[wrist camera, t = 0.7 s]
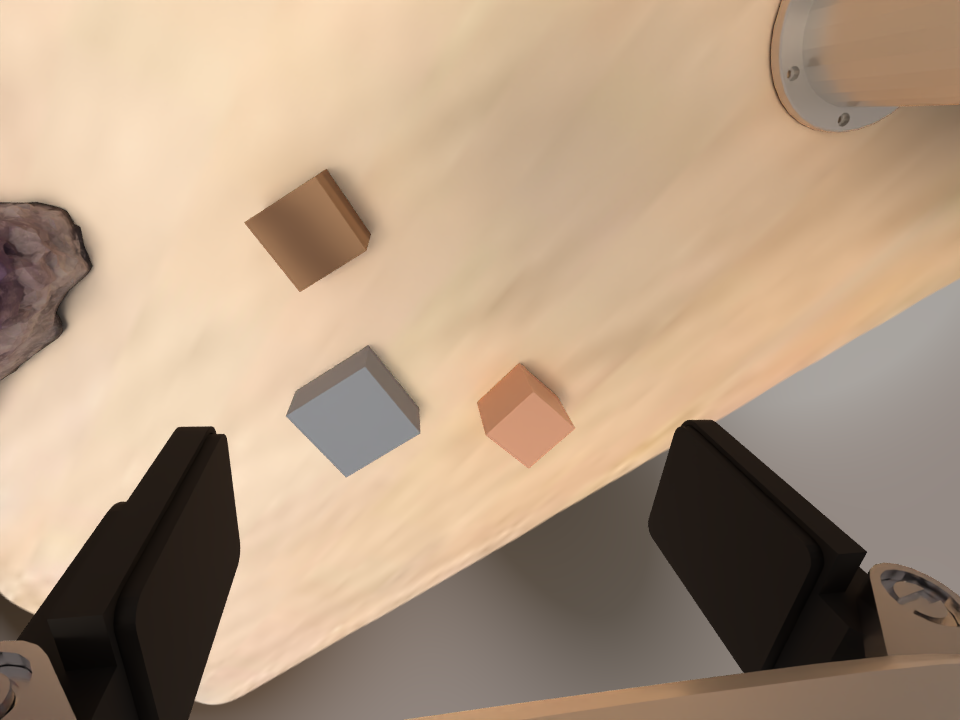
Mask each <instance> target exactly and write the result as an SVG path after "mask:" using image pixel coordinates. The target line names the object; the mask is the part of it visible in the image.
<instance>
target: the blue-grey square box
mask: <svg viewBox="0 0 960 720" xmlns="http://www.w3.org/2000/svg"><path fill="white" fill-rule="evenodd" d="M286 417H287V418H288V419H289V420H290V421H291V422H292V423H293V424H294V425H295V426H296V427H297V428H298V429H299V430H300V431H301V432H302V433H303V434H304V435H305V436H306V437H307V438H308V439H309V440H310V441H311V442H312V443H313V444H314V445H315V446H316V447H317V448H318V449H319V450H320V451H321V452H322V453H323V454H324V455H325V456H326V457H327V458H328V459H329V460H330V461H331V462H332V463H333V464H334V466H335V467H336V468H337V469H338V470H339V471H340V472H341V473H342V474H343V475H344V476H345V477H348V476H349V475H351V474H353V473H355V472H356V471H358V470H360V469H361V468H363V467H365V466H366V465H368V464H370V463H371V462H373V461H375V460H376V459H378V458H380V457H381V456H383V455H385V454H386V453H388V452H390V451H391V450H393V449H395V448H397V447H398V446H400V445H402V444H403V443H405V442H407V441H408V440H410V439H412V438H413V437H415V436H417V435H418V434H420V419H419V408H418V406H417V405H416V404H415V403H414V401H413V400H412V399H411V398H410V396H409V395H408V394H407V393H406V391H405V390H404V389H403V388H402V386H401V385H400V384H399V383H398V382H397V380H396V379H395V378H394V377H393V375H392V374H391V373H390V372H389V370H388V369H387V368H386V367H385V365H384V364H383V363H382V362H381V360H380V359H379V358H378V357H377V355H376V354H375V353H374V352H373V351H372V349H371V348H370V347H369V346H367V347H365V348H363V349H362V350H360V351H359V352H357V353H355V354H354V355H352V356H351V357H349V358H347V359H346V360H344V361H343V362H341V363H340V364H338V365H336V366H335V367H333V368H332V369H330V370H328V371H327V372H325V373H324V374H322V375H320V376H319V377H317V378H316V379H314V380H313V381H311V382H309V383H308V384H306V385H305V386H303V387H301V388H300V389H298V390H297V391H296V392H295V394H294V397H293V399H292V402H291V405H290V407H289V410H288V412H287V415H286Z"/></svg>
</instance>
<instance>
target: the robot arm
mask: <svg viewBox="0 0 960 720" xmlns="http://www.w3.org/2000/svg"><path fill="white" fill-rule="evenodd" d="M771 69H772V75H773V80H774V86H775V88H776V91H777V93H778V96H779V98H780V101H781V102H782V104H783V105H784V107H785V108H786V110H787V111H788V113H789V114H790V115H791V116H793V117H794V118H795V119H796V120H797V121H798V122H799V123H801V124H803V125H805V126H807V127H809V128H811V129H814V130H820V131H825V132H847V131H853V130H859V129H861V128H864V127H867V126H869V125H872V124H875V123H876V122H878V121H880V120H881V119H883V118H885V117H887V116H888V115H890V114H891V113H893V112H894V111H895V110H896V109H898V108H899V107H900V106H931V105H960V0H782V2H781V5H780V8H779V12H778V15H777V18H776V22H775V25H774V31H773V38H772V44H771ZM648 527H649V532H650V534H651V536H652V538H653V540H654V541H655V543H656V544H657V546H658V547H659V549H660V550H661V551H662V553H663V555H664V556H665V558H666V559H667V560H668V562H669V563H670V565H671V566H672V568H673V569H674V571H675V572H676V574H677V575H678V576H679V578H680V579H681V581H682V582H683V584H684V585H685V587H686V589H687V590H688V591H689V593H690V594H691V596H692V597H693V599H694V600H695V602H696V603H697V605H698V606H699V608H700V609H701V611H702V612H703V614H704V615H705V617H706V618H707V620H708V621H709V623H710V624H711V625H712V627H713V628H714V630H715V631H716V633H717V634H718V636H719V637H720V639H721V640H722V642H723V643H724V645H725V646H726V648H727V649H728V651H729V652H730V654H731V655H732V656H733V658H734V659H735V661H736V662H737V664H738V665H739V667H740V668H741V670H742V671H743V672H744V673H741V674H733V675H726V676H718V677H710V678H702V679H695V680H687V681H680V682H672V683H665V684H657V685H650V686H644V687H636V688H628V689H621V690H613V691H606V692H598V693H591V694H584V695H576V696H569V697H562V698H555V699H547V700H540V701H533V702H525V703H518V704H511V705H504V706H497V707H490V708H483V709H476V710H469V711H462V712H455V713H448V714H440V715H433V716H427V717H419V718H413V719H405V720H960V597H959V596H958V595H957V594H956V593H954V592H953V591H952V590H950V589H949V588H948V587H946V586H945V585H944V584H942V583H940V582H939V581H937V580H935V579H933V578H932V577H929V576H928V575H926V574H923V573H921V572H919V571H917V570H915V569H912V568H909V567H906V566H902V565H899V564H891V563H880V564H875V565H874V566H873V567H872V568H871V569H870V571H869V572H868V574H867V573H866V572H864V571H863V570H862V569H861V568H860V567H859V566H860V564H861V562H862V560H863V559H864V557H865V555H866V553H867V551H865V550H864V549H863V548H862V547H861V546H860V545H858V544H857V543H856V542H855V541H854V540H853V539H851V538H850V537H849V536H848V535H847V534H845V533H844V532H843V531H842V530H841V529H840V528H839V527H837V526H836V525H835V524H834V523H833V522H832V521H830V520H829V519H828V518H827V517H826V516H825V515H823V514H822V513H821V512H820V511H819V510H817V509H816V508H815V507H814V506H813V505H812V504H811V503H809V502H808V501H807V500H806V499H805V498H804V497H802V496H801V495H800V494H799V493H798V492H797V491H795V490H794V489H793V488H792V487H791V486H790V485H788V484H787V483H786V482H785V481H784V480H783V479H781V478H780V477H779V476H778V475H777V474H776V473H774V472H773V471H772V470H771V469H770V468H769V467H767V466H766V465H765V464H764V463H763V462H761V461H760V460H759V459H758V458H757V457H756V456H755V455H754V454H752V453H751V452H750V451H749V450H748V449H746V448H745V447H744V446H743V445H741V443H739V442H738V441H737V440H736V439H735V438H734V437H732V436H731V435H730V434H729V433H728V432H727V431H725V430H724V429H723V428H722V427H721V426H720V425H718V424H717V423H716V422H714V421H713V420H687V421H685V422H684V423H683V424H682V425H681V427H678V428H677V429H676V431H675V433H674V436H673V439H672V443H671V446H670V449H669V453H668V456H667V460H666V463H665V466H664V470H663V473H662V476H661V480H660V483H659V487H658V490H657V493H656V497H655V500H654V503H653V507H652V510H651V513H650V517H649V521H648ZM239 557H240V539H239V531H238V523H237V515H236V507H235V499H234V491H233V483H232V475H231V467H230V459H229V450H228V442H227V438H226V435H225V434H216V431H215V429H214V427H212V426H210V427H178V428H177V429H176V430H175V431H174V432H173V434H172V435H171V437H170V438H169V440H168V441H167V443H166V444H165V446H164V447H163V449H162V450H161V452H160V453H159V455H158V456H157V458H156V459H155V461H154V462H153V464H152V465H151V466H150V468H149V469H148V471H147V472H146V474H145V475H144V477H143V478H142V480H141V481H140V483H139V484H138V486H137V487H136V489H135V490H134V492H133V493H132V495H131V496H130V497H129V499H128V500H127V502H119V503H117V504H114V505H113V506H112V507H111V509H110V510H109V511H108V512H107V513H106V515H105V516H104V518H103V519H102V520H101V522H100V523H99V525H98V526H97V527H96V529H95V530H94V532H93V533H92V535H91V536H90V537H89V539H88V540H87V542H86V543H85V544H84V546H83V547H82V549H81V550H80V551H79V553H78V554H77V556H76V557H75V559H74V560H73V561H72V563H71V564H70V566H69V567H68V568H67V570H66V571H65V573H64V574H63V575H62V577H61V578H60V580H59V581H58V583H57V584H56V585H55V587H54V588H53V590H52V591H51V592H50V594H49V595H48V597H47V598H46V599H45V601H44V602H43V604H42V605H41V606H40V608H39V609H38V611H37V612H36V614H35V615H34V616H33V618H32V619H31V621H30V622H29V623H28V625H27V626H26V628H25V629H24V630H23V632H22V633H21V635H20V636H19V638H18V639H17V640H16V641H1V642H0V720H188V719H189V715H190V713H191V710H192V706H193V703H194V700H195V697H196V694H197V691H198V688H199V685H200V682H201V678H202V675H203V672H204V669H205V666H206V663H207V660H208V657H209V653H210V650H211V647H212V644H213V641H214V638H215V635H216V632H217V629H218V625H219V622H220V619H221V616H222V613H223V610H224V607H225V604H226V601H227V597H228V594H229V591H230V588H231V585H232V582H233V579H234V576H235V573H236V569H237V566H238V563H239Z"/></svg>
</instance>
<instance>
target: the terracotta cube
mask: <svg viewBox="0 0 960 720" xmlns="http://www.w3.org/2000/svg"><path fill="white" fill-rule="evenodd" d="M477 404H478V408H479V412H480V415H481V419H482V423H483V427H484V430H485V434H486V436H488V437H489V438H490V439H491V440H493V441H494V442H495V443H497V444H498V445H499V446H500V447H502V448H503V449H504V450H506V451H507V452H508V453H509V454H511V455H512V456H513V457H515V458H516V459H517V460H518V461H520V462H521V463H522V464H524V465H525V466H526V467H527V468H530V467H531V466H532V465H533V464H535V463H536V462H537V461H538V460H539V459H540V458H541V457H543V456H544V455H545V454H546V453H547V452H548V451H550V450H551V449H552V448H553V447H554V446H555V445H556V444H558V443H559V442H560V441H561V440H562V439H563V438H565V437H566V436H567V435H568V434H569V433H570V432H571V431H573V430H574V429H575V427H574V425H573V424H572V422H571V420H570V418H569V416H568V415H567V413H566V411H565V409H564V407H563V406H562V404H561V402H560V400H559V399H558V397H557V396H556V395H555V394H554V393H553V392H551V391H550V390H549V389H548V388H547V387H546V386H545V385H544V384H543V383H541V382H540V381H539V380H538V379H537V378H536V377H535V376H534V375H533V374H531V373H530V372H529V371H528V370H527V369H526V368H525V367H524V366H522V365H521V364H520V363H519V364H518V365H516V366H515V367H514V368H513V369H512V370H511V371H510V372H509V373H508V374H507V375H506V376H505V377H504V378H503V379H502V380H500V381H499V382H498V383H497V384H496V385H495V386H494V387H493V388H492V389H491V390H490V391H489V392H488V393H487V394H485V395H484V396H483V397H482V398H481V399H480V400H479V401H478V402H477Z"/></svg>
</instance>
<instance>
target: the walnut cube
mask: <svg viewBox="0 0 960 720" xmlns="http://www.w3.org/2000/svg"><path fill="white" fill-rule="evenodd" d="M244 223H245V224H246V225H247V227H248V228H249V229H250V230H251V232H252V233H253V234H254V235H255V237H256V238H257V239H258V240H259V242H260V243H261V244H262V245H263V247H264V248H265V249H266V250H267V252H268V253H269V254H270V255H271V257H272V258H273V259H274V260H275V262H276V263H277V264H278V265H279V267H280V268H281V269H282V270H283V272H284V273H285V274H286V275H287V277H288V278H289V279H290V280H291V282H292V283H293V284H294V285H295V287H296V288H297V289H298V290H299V292H301V291H302V290H304V289H306V288H307V287H309V286H310V285H312V284H314V283H315V282H317V281H318V280H320V279H322V278H323V277H325V276H326V275H328V274H330V273H331V272H333V271H334V270H336V269H338V268H339V267H341V266H342V265H344V264H346V263H347V262H349V261H350V260H352V259H354V258H355V257H357V256H358V255H360V254H362V253H363V252H365V251H366V250H367V246H368V243H369V239H370V235H371V234H370V232H369V231H368V230H367V228H366V227H365V225H364V224H363V222H362V221H361V219H360V218H359V216H358V215H357V213H356V212H355V210H354V209H353V207H352V206H351V204H350V203H349V202H348V200H347V199H346V197H345V196H344V194H343V193H342V191H341V190H340V188H339V187H338V185H337V184H336V182H335V181H334V179H333V178H332V177H331V175H330V174H329V172H328V171H327V169H326V170H324V171H323V172H321V173H320V174H318V175H317V176H315V177H313V178H312V179H310V180H309V181H307V182H306V183H304V184H303V185H301V186H300V187H298V188H297V189H295V190H294V191H292V192H290V193H289V194H287V195H286V196H284V197H283V198H281V199H280V200H278V201H277V202H275V203H274V204H272V205H271V206H269V207H267V208H266V209H264V210H263V211H261V212H260V213H258V214H257V215H255V216H254V217H252V218H251V219H249V220H247V221H246V222H244Z"/></svg>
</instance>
